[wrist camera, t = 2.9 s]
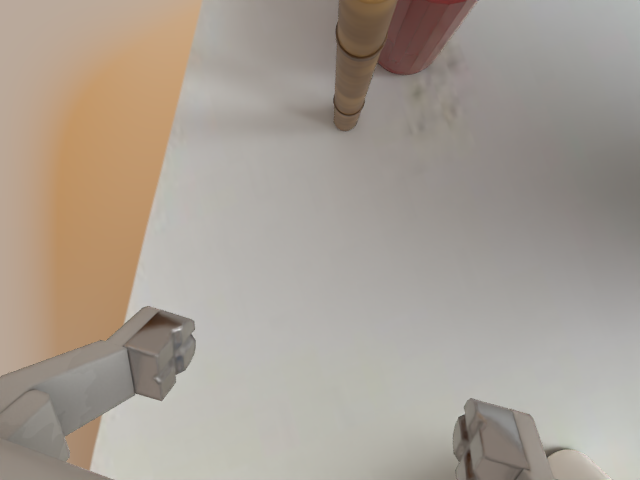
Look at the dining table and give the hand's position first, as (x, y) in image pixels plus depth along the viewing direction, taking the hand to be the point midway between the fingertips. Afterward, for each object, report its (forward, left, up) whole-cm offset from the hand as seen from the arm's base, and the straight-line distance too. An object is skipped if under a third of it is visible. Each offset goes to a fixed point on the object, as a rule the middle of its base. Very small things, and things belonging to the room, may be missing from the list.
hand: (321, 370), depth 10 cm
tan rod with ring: (-10, -7, -24) cm, 27 cm away
